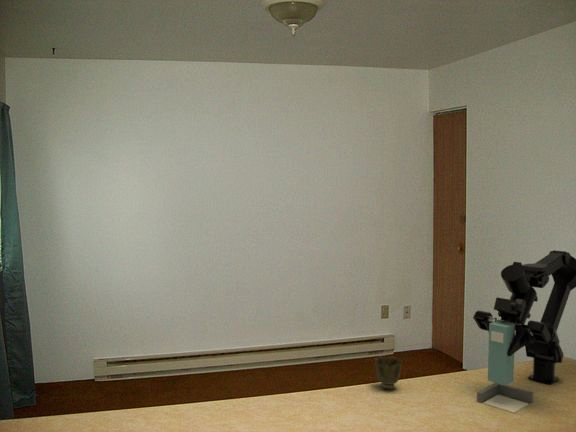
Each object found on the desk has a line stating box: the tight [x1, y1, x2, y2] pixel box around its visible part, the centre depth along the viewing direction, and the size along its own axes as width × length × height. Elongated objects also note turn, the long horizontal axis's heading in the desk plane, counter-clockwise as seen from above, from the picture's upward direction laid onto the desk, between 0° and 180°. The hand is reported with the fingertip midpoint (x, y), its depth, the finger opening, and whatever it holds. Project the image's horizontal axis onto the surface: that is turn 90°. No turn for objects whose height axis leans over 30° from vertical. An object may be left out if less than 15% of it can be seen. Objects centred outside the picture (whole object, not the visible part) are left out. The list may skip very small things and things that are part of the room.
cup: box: [374, 355, 403, 391], centre depth 148 cm, size 8×7×8 cm
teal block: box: [487, 321, 516, 386], centre depth 138 cm, size 5×5×15 cm
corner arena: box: [476, 382, 534, 414], centre depth 140 cm, size 11×10×2 cm
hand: (498, 353), depth 138 cm, fingers closed on teal block, 5 cm apart
